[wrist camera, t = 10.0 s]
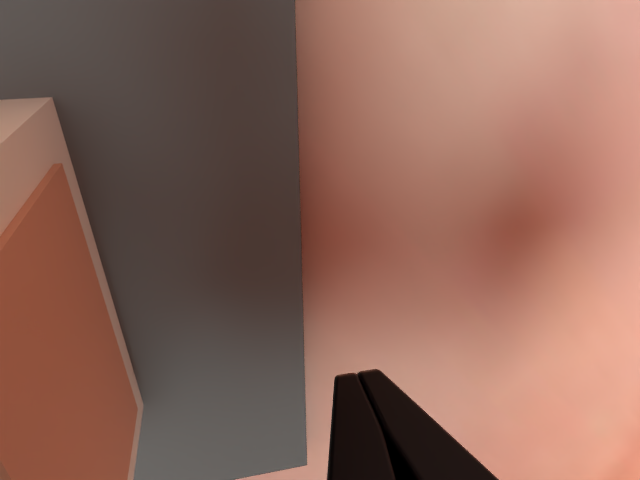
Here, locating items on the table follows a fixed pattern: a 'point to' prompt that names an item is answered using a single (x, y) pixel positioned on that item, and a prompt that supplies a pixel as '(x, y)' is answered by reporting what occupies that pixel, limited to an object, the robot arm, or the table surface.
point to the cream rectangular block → (56, 318)
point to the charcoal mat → (186, 210)
